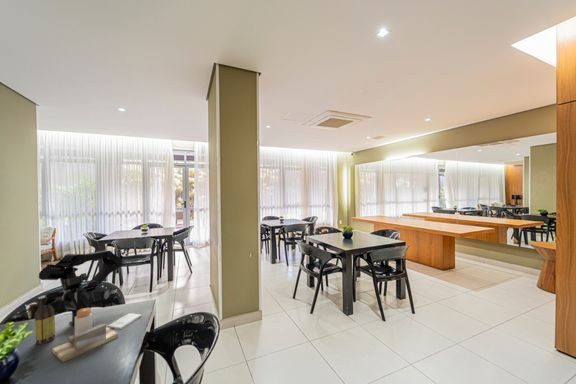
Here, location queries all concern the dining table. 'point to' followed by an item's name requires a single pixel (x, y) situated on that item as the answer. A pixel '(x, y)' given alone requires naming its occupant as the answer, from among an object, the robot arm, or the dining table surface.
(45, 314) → the sauce bottle
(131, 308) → the dining table surface
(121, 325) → the external hard drive
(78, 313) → the white tall block
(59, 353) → the mount
